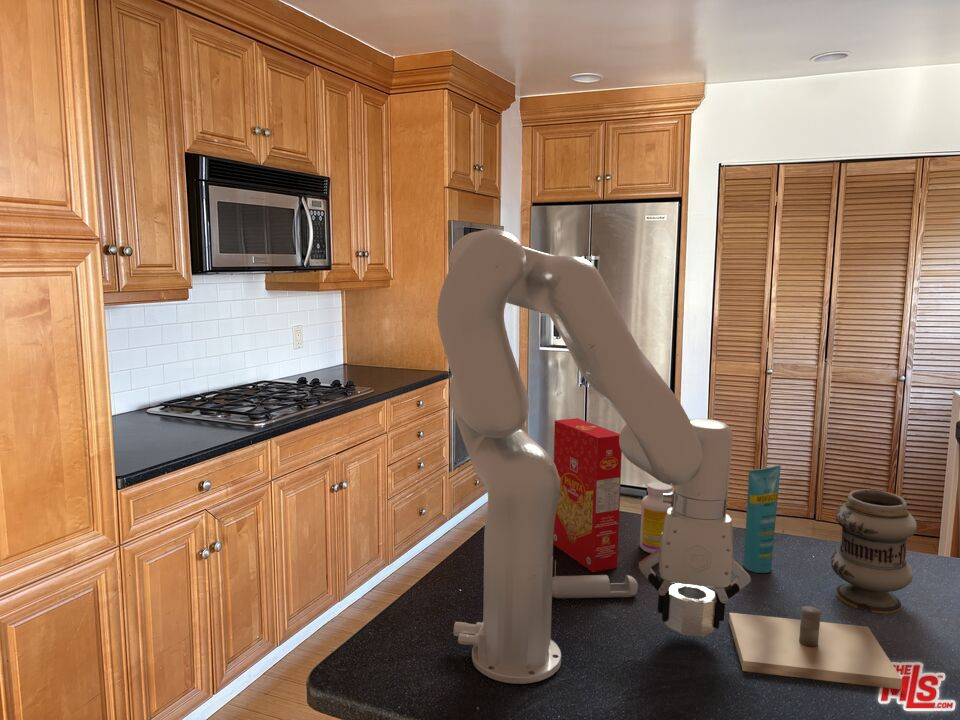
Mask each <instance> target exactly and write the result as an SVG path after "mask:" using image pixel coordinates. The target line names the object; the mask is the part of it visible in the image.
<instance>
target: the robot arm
mask: <svg viewBox="0 0 960 720" xmlns="http://www.w3.org/2000/svg"><path fill="white" fill-rule="evenodd" d="M448 257H449V258H448V266H449V270H448V273H447V274H446V276H445V279H444V281H443V283H442V286H441V290H440V292H439V293H440V294H439V297H438V301H437V310H436V311H437V314H436V315H437V316H436V318H437V327H438V332H439V335H440V339H441V340H440V341H441V344H442V347H443V349H444V353H445V356H446V361H447V364H448V368H449V369H450V373H451V377H452V378H451V380H450V384H449V402H450V404H451V409H452V411H453V414H454V418H455V421H456V423H457V426H458V428H459V431H460V435H461V437H462V441H463V443H464V446H465V449H466V451H467V454H468V457H469V459H470V462H471V465H472V467H473V469H474V470H473V471H475V474H476V475H477V478H478V479H479V480H480V482H481V483H482V485H483V486H484V488H485V490H486V492H487V509H486V515H485V522H484V535H483V538H484V539H483V618H482V622H480V621H476V623H475V624H474V623H468V622H462V621H455V622H454V625H453V636H454V637H455V636H456V637H458V638H457V643H458V644H461V645H472V648H471V649H472V650H471V661H472V663H473V666H474V667H475V668H476V669H477V671H479V672H480V673H481V674H482V675H484V676H486V677H488V678H490V679H492V680H494V681H496V682H497V681H498V682H502V683H506V684H515V685H517V684H519V685H524V684H532V683H537V682H541V681H543V680H545V679H549V678H551V677H552V676H554V674H555V673H557V672H558V670H559V669H560V668H561V664H562V650H561V648H560V647H559V646H558V644H557V643H556V642H555V641H554V640H552V605H553V603H552V600H553V597H552V577H553V569H554V567H553V566H554V544H553V534H554V522H555V514H556V509H557V504H558V498H559V489H560V481H559V475H558V471H557V468H556V466H555V464H554V459H553V458H552V457H551V455H550V454H549V453H548V452H547V451H546V450H545V448H543V447H542V446H541V445H539V443H537V441H535V440H533V439H532V437H530V435H529V432H528V429H527V426H526V422H527V419H528V415H529V410H530V401H529V395H528V393H527V388H526V385H525V383H524V381H523V378H522V376H521V373H520V371H519V367H518V365H517V361H516V359H515V356H514V352H513V350H512V346H511V344H510V340H509V336H508V333H507V330H506V329H507V328H506V322H505V309H506V304H510V305H513V306H516V307H520V308H524V309H527V310H532V311H534V312H539V313H542V314H545V315H549V317H550V319H551V321H552V322H553V325H554V326H555V329H556V331H557V332H558V334H559V335H560V337H561V339H562V341H563V342H564V344H565V347H567V350H568V352H569V354H570V355H571V357H572V359H573V361H574V363H575V364H576V367H577V369H578V370H579V373H580V374H581V376H582V377H583V378H584V380H585V381H586V382H587V384H589V386H590V387H591V388H592V389H593V390H594V391H595V393H597V394H598V395H599V396H600V397H601V398H603V400H604V401H606V402H607V403H608V404H609V405H610V406H611V407H612V408H613V409H614V410H615V411H616V412H617V414H618V415H619V416H620V417H621V419H623V421H624V422H625V423H626V424H625V425H624V426H623V427H622V429H621V431H620V433H619V434H620V436H619V445H620V449H621V451H622V454H623V456H624V457H625V458H626V459H627V460H628V461H629V462H630V463H631V464H633V465H634V466H636V467H637V468H639V469H640V470H642V471H643V472H646V473H647V474H649V476H651V477H653V478H654V479H655V480H657V481H658V482H661V483H664V484H668V485H671V486H673V487H672V491H671V493H668V494H663V503H668V504H670V505H671V506H672V507H670V508H669V509H668V510H667V513H666V517H665V520H664V525H663V530H662V535H661V542H660V548H659V549H658V550H656V551H655V552H653V553H649V555H647V556H645V557H644V558H643V559H641V560H640V561H639V562H638V569H639V570H640V572H641V573H642V575H644V576H645V578H646V580H648V583H650V585H651V586H652V587H653V588H654V589H655V590H656V591H657V593H658V596H657V597H658V598H657V613H658V614H659V613H660V614H661V618H662V622H663V623H666V621H668V609H669V592H668V590H669V588H670V586H671V585H673V583H674V584H676V583H680V584H688V585H696V586H704V587H706V588H714V589H715V597H716V607H715V618H714V629H716V630H717V629H718V630H719V629H720V622H724V619H725V609H726V604H727V603H728V602H729V600H730V599H732V598H733V596H735V595H737V594H738V593H739V592H740V590H741V589H743V588H744V587H746V586H747V585H749V583H751V581H752V579H751V575H750V574H749V573H748V572H747V571H746V569H744V568H743V566H741V565H740V564H739V563H738V562H737V561H736V560H735V559H734V533H733V532H734V529H733V523H732V518H731V517H730V515H729V514H727V505H728V496H729V495H728V494H729V485H730V484H729V483H730V473H731V462H732V461H731V460H732V451H733V450H732V449H733V441H734V440H733V431H732V429H731V426H729V425H728V424H726V423H724V422H722V421H719V420H715V419H708V418H691V419H690V418H689V417H688V414H687V412H686V411H685V408H684V407H683V405H682V404H681V403H680V400H679V399H678V397H677V396H676V395H675V392H673V390H672V389H671V388H670V386H669V385H668V384H667V383H666V381H665V380H664V379H663V378H662V376H661V374H660V373H659V372H658V371H657V370H656V368H655V367H654V365H653V364H652V363H651V361H650V360H649V359H648V358H647V356H646V355H645V354H644V353H643V352H642V351H641V349H640V348H639V347H640V346H638V344H637V341H636V340H635V338H634V336H633V334H632V332H631V330H630V328H629V327H628V325H627V323H626V321H625V319H624V317H623V315H622V312H621V311H620V310H619V308H618V306H617V304H616V302H615V300H614V298H613V296H612V294H611V292H610V290H609V288H608V286H607V284H606V282H605V281H604V279H603V276H602V275H601V273H600V272H599V271H598V268H597V267H596V266H595V265H594V264H593V262H590V261H589V260H588V259H586V258H584V257H580V256H575V255H556V254H555V255H554V254H551V253H547V252H542V251H539V250H536V249H532V248H529V247H525V246H523V245H522V243H521V242H520V241H519V239H518V238H517V237H516V236H515V235H513V234H512V233H510V232H508V231H505V230H501V229H497V228H488V229H482V230H479V231H473V232H469V233H467V234H465V235H463V236H462V237H460V238H459V239H458V240H456V242H455V244H454V245H453V246H452V248H451V251H450V253H449V256H448ZM657 564H658V572H659V575H660V577H659V575H658V574H657V573H656V572H655V571H654V570H653V569H652V567H653V566H655V565H657ZM733 574H734V575H735V576H736V578H735V579H734V580H732V578H733Z"/></svg>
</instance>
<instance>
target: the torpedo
mask: <svg viewBox="0 0 960 720" xmlns="http://www.w3.org/2000/svg"><path fill="white" fill-rule="evenodd" d="M556 564H557V560H554V576H552V598H555V599H584V598H585V599H592V598H593V599H601V598H602V599H603V598H604V599H605V598H609V599H610V598H632V597H634V596H635V595H637V593H638V590H639V589H638V588H639V584H638V581H637V580H636V579H635V578H634V577H633V576H632V575H628V574H626V575H624V582H613V583H612V582H611V583H610V578H609V576H608V575H607V574H599V575H598V574H597V575H596V574H595V575H593V574H592V575H590V574H589V575H583V574H582V575H556V571H557V569H556V568H557V565H556Z"/></svg>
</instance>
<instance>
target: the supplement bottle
mask: <svg viewBox="0 0 960 720" xmlns="http://www.w3.org/2000/svg"><path fill="white" fill-rule="evenodd" d="M646 491H647V494H648V495H645V496H644V497H643V498H642V500H641V509H640V510H641V511H640V527H639V529H640V531H639V546H640V549H642V551H644V552H647V553H648V554H652V553H653V552H655V551H656V550H658V549H659V548H660V542H661V535H662V530H663V525H664V520H665V517H666V513H667V510H668V509H669V508H670V507H672V506H671V505H670V504H668V503H663V494H668V493H671V491H673V485H668V484H664V483H662V482H660V481H658V482H657V481H656V482H655V481H654V482H649V483H648V484H647V488H646Z"/></svg>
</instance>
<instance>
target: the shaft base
mask: <svg viewBox="0 0 960 720" xmlns="http://www.w3.org/2000/svg"><path fill="white" fill-rule="evenodd" d="M800 611H801V612H800V614H801V615H800V619H795V618H787V617H786V618H785V617H777V616H766V615H758V614H748V613H737V612H729V613H728V614H729V616H728V623H729V627H730V631H731V634H732V637H733V641H734V644H735V648H736V652H737V655H738V660H739V662H740V666H741V670H742V672H749V673H758V674H765V675H767V674H768V675H775V676H784V677H793V678H801V679H811V680H819V681H826V682H834V683H842V684H843V683H844V684H851V685H861V686H870V687H879V688H885V689H894V690H895V689H896V690H901V689H902V682H903V678H902V677H901V675H900V673H899V672H898V671H897V669H896V668H895V666H894V664H893V663H892V662H891V660H890V658H889V657H888V656H887V653H886V652H885V650H884V649H883V647H882V646H881V644H880V643H879V641H878V640H877V638H876V637H875V635H874V633H872V631H871V629H870V628H869V627H868V626H865V625H856V624H846V623H835V622H826V621H821V610H820V609H818V608H816V607H815V606H809V605H806V606H805V605H804V606H802V607H801V609H800Z"/></svg>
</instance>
